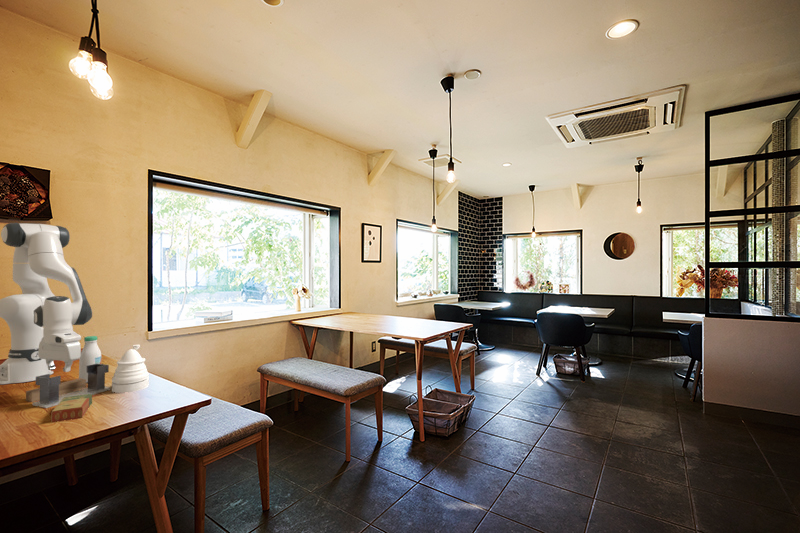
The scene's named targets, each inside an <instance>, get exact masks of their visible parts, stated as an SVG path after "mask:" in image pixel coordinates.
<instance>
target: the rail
mask: <svg viewBox="0 0 800 533" xmlns="http://www.w3.org/2000/svg"><path fill="white" fill-rule="evenodd" d="M85 388H87V383H86V379H82V378H79V377H78V378H76V379H72V380H67V381H64V382H61V383H60V384H59V395H63V394H66V393H70V392H74V391H78V390H81V389H85ZM25 401H26V402H30V403H33V402H37V401H40V387H37V388H34V389H33V388H32V389H30V390H26V391H25Z"/></svg>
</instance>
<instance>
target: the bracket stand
mask: <svg viewBox="0 0 800 533" xmlns="http://www.w3.org/2000/svg"><path fill="white" fill-rule="evenodd" d="M109 366H110V365H109V364H104V363H101V364H98V363H96V364H92V365H87V373H88V383H87V387H86V388H84V389H80V390H77V391H73V392H69V393H65V394H61V395H59V384H60V383H62V382H61V379H62V378H61V375H57V376H52V377H51V374H46V375H41V376H37V377H36V380H35V386H38V387H39V388H40V400H38V401H34V402H31V403H32V406H35V407H38V406H39V408H44V409H48V408H52V407H56V406H57V405H58V404H59V403H60V402H61V401H62V399H63V398H64V397H71V396H78V395H85V394H92V396H93V395H94V396H95V395H97V394H100V392H101V393H103V392H107V390H108V391H110V390H111V386H105V384H106V383H105V382H106V377H105V376H106V373H109V368H110V367H109Z"/></svg>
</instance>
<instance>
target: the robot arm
mask: <svg viewBox="0 0 800 533" xmlns="http://www.w3.org/2000/svg"><path fill="white" fill-rule="evenodd" d="M0 232H1V233H0V237H1V240H2V242H3V244H5V245H7V246H8V247H9V246H10V247H14V251H13V258H12V281H13V282H14V283H15V284H17V285H18V286H19V288H20V290H21V293H22V294H21V293H19V294H12V295H9V296H5V297H3V298H0V318H1V319H3V320H4V321H5V323H6V324H7V326H8V328H9V332H10V349H8V354H7V355H8V356H7V357H8V358H7V359H6V360H4V361H3V362H2V363H1V364H0V385H9V384H18V383H26V382H27V383H28V382H34V381H36V377H37V376H41V375H46V374H50V375H53V374H54V370H56V364H55V363H54V361H62V362H63V363H64V364H65V365H64V367H63V368H62V371H63V372H65V373H68V372H71V371H72V370H71V367H72V365H73V363H74V362H75V361H79V359H80V355H81V351H82V349H81V348H82V347H81V342H80V341H81V340H82V335H80V334H79V333H77V332H76V331H74V326H82V325H85V324H87V323H88V322H89V321H90V320H91V319H92V318H93V308H92V307H91V305H90V303H89V301H88V299H87V296H86V293H85V290H84V287H83V285H82V282H81V279H80V277H79V274H78V272H77V270H76V269H75V267H72V266H70V265H69V264H68V263H67V261H66V260H65V256H64V250H63V248H65V247H67V246H68V245H69V243H70V239H71V236H70V232H69V230H68V229H67V228H66V227H65V226H64V227H63V226H60V225H52V224H47V223H45V224H44V223H26V222H25V223H23V222H22V223H20V222H9V223H6V224H4V226H3V228H2V230H1V231H0ZM48 279H51V280H55V281H58V282H61V283H63V284H65V285H66V286H67V288H68V290H69V292H70V295H71V298H72V301H73V302H72V301H71V298H70V297H68V296H63V295H62V296H61V295H57V296H56V295H55V294H54V293H53V292H52V290H51V288H50V285H49V282H48Z"/></svg>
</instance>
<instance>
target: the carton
mask: <svg viewBox="0 0 800 533" xmlns="http://www.w3.org/2000/svg"><path fill="white" fill-rule="evenodd" d="M92 404H93V395H92V394H85V395H78V396H71V397H64V398H63V399H62V401H61V402H60V403H59V404H58V405H55V406H54V409H52V410H51V413H50V422H52V423H58V422H57V421H59V422H65V421H64V420H66V421H72V420H78V419H83V418H84V416H85V414H87V412H88V410H89V409H90V407H91V406H92ZM90 405H91V406H90ZM88 408H89V409H88ZM71 419H72V420H71Z"/></svg>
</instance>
